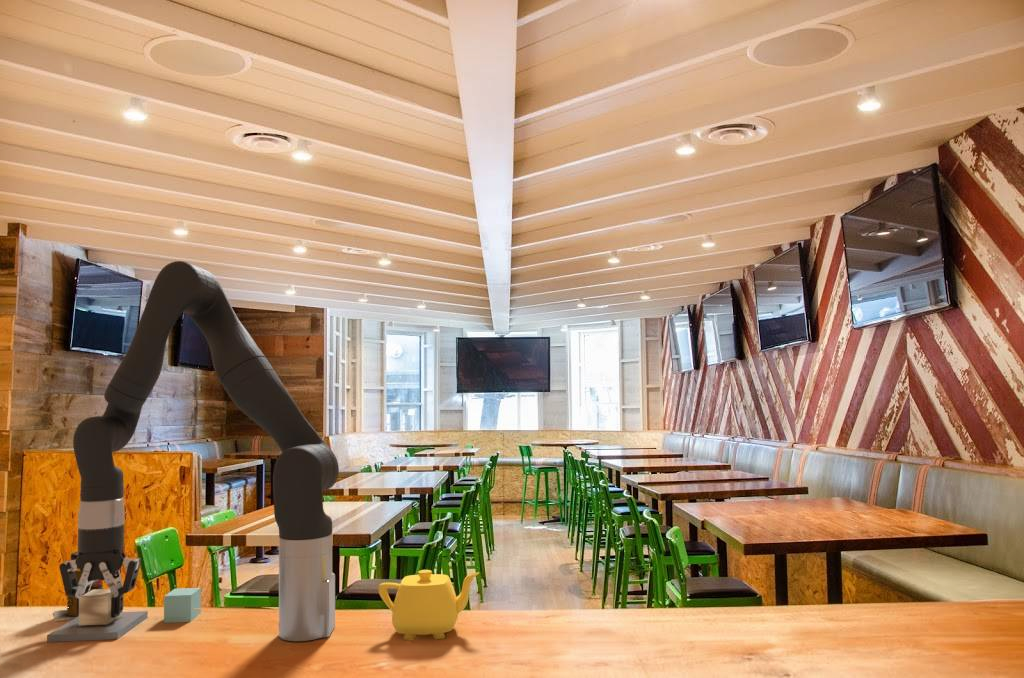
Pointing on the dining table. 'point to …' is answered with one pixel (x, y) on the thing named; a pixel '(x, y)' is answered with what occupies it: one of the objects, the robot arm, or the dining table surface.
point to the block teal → (182, 605)
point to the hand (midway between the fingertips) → (99, 616)
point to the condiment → (72, 600)
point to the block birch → (95, 607)
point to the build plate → (97, 628)
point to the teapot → (425, 604)
